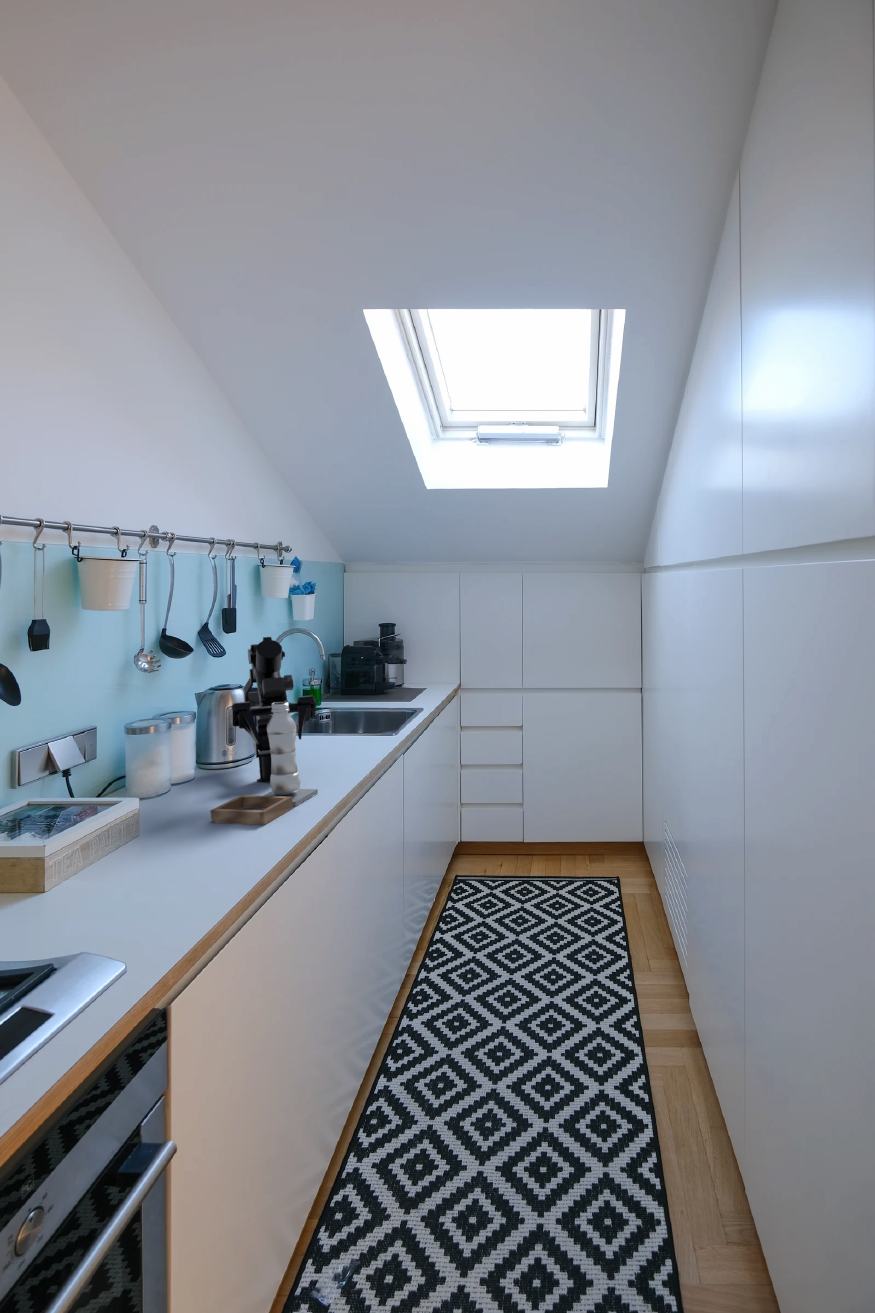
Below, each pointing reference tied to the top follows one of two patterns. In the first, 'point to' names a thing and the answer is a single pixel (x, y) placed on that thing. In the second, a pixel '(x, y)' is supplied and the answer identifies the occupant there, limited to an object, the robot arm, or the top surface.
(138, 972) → the top surface
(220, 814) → the walnut collar
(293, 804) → the slate pad
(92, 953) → the top surface
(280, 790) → the plastic bottle
